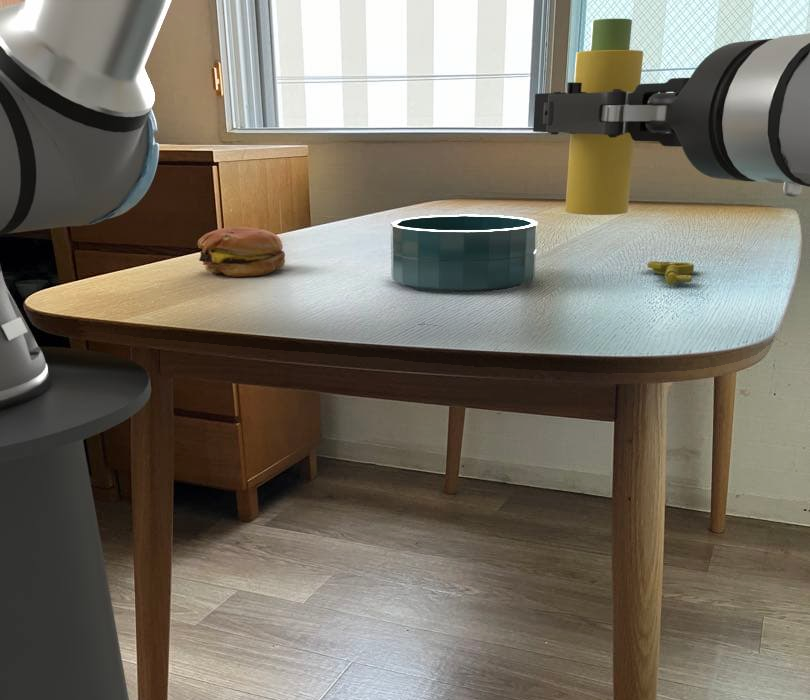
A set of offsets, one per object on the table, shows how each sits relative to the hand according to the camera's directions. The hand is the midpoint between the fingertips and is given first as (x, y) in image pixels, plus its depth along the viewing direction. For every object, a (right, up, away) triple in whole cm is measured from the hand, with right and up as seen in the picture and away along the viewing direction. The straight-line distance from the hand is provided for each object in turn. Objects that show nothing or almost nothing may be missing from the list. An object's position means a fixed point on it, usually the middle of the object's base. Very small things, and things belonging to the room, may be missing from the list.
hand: (569, 112), depth 71 cm
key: (+15, -6, +25) cm, 30 cm away
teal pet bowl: (-7, -6, +24) cm, 26 cm away
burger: (-32, -3, +32) cm, 46 cm away
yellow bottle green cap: (+2, -8, -1) cm, 9 cm away
